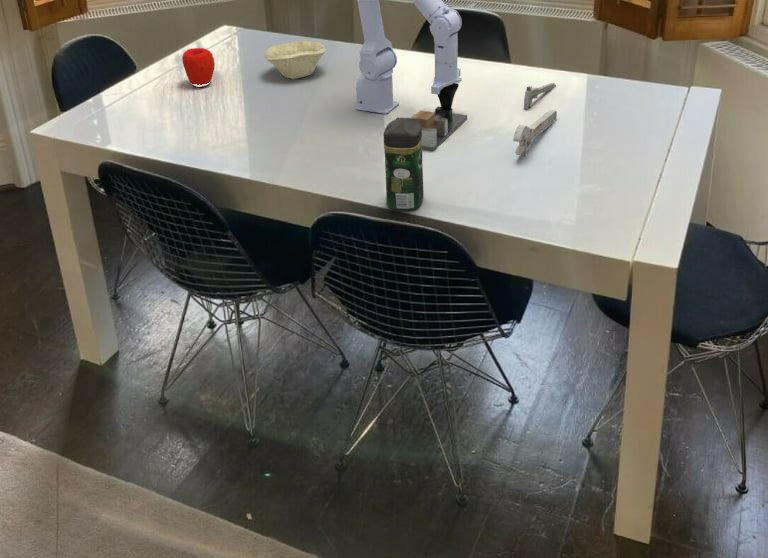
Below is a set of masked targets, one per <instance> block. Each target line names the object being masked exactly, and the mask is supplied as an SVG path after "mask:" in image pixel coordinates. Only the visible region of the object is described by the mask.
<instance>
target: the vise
mask: <svg viewBox="0 0 768 558" xmlns="http://www.w3.org/2000/svg"><path fill="white" fill-rule="evenodd" d="M433 112H434V113H435V111H433ZM467 120H468V115H467V114H463V113H462V114H461V113H455V112H452V120H451V121H450V122H448V134H447V135H446V136H439V135H437V129H433V128H426V127H422V151H423V150H424V151H429V152H434V151H435V150H436V149H437V148H438V147H439V146H441V145H442V144H443V143H444V142H445V141H446V140H447V139H448V138H449V137H450V136H451V135H452V134H453V133H455V131H456V130H457V129H458V128H459V127H461V126H462V125H463V123H465V122H466V121H467Z"/></svg>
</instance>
